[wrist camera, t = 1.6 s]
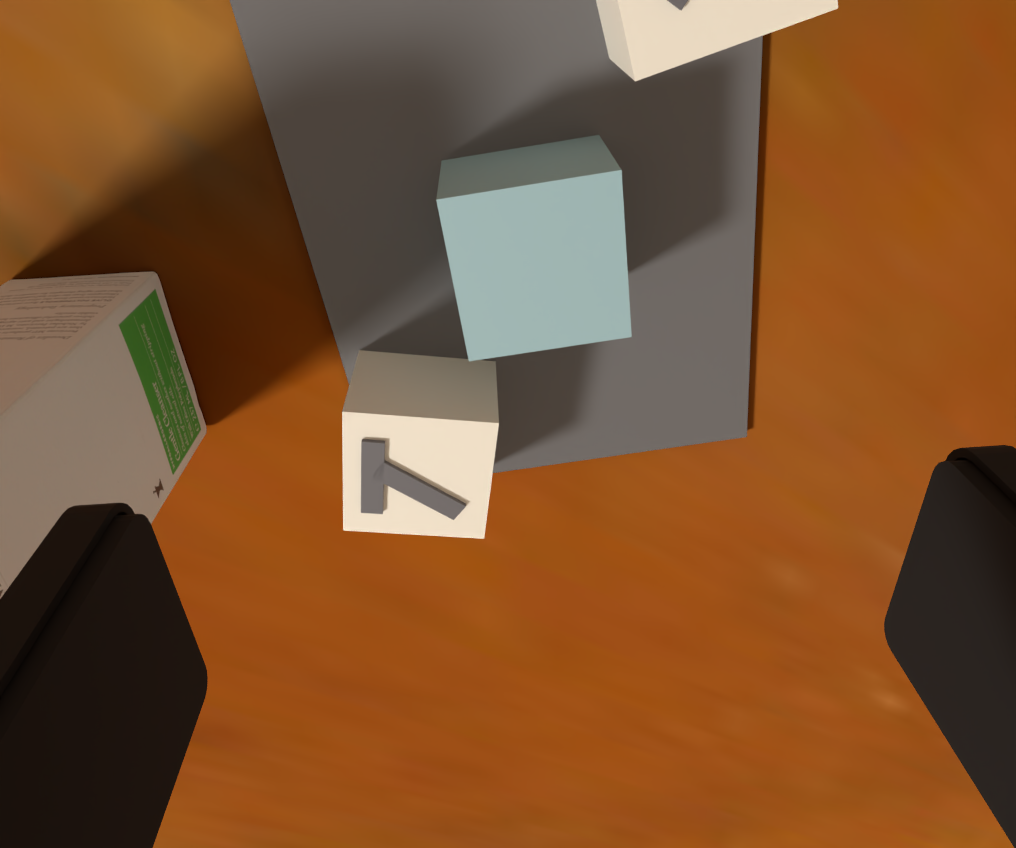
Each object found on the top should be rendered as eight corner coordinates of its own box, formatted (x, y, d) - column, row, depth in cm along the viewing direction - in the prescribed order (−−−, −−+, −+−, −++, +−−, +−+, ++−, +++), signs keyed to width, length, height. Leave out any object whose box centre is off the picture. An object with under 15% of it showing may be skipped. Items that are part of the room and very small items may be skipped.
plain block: (599, 134, 28) (621, 169, 23) (610, 283, 31) (631, 337, 27) (441, 160, 28) (436, 199, 24) (469, 304, 31) (468, 361, 27)
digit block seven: (495, 361, 33) (499, 426, 28) (482, 469, 36) (484, 541, 32) (359, 350, 32) (341, 414, 28) (358, 460, 35) (342, 533, 31)
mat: (767, -203, 23) (772, -205, 22) (744, 432, 36) (746, 436, 36) (202, -99, 24) (198, -100, 23) (382, 483, 37) (381, 488, 36)
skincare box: (210, 430, 35) (53, 726, 22) (70, 438, 35) (-172, 739, 22) (156, 260, 30) (-85, 506, 17) (-7, 269, 30) (-373, 523, 17)
